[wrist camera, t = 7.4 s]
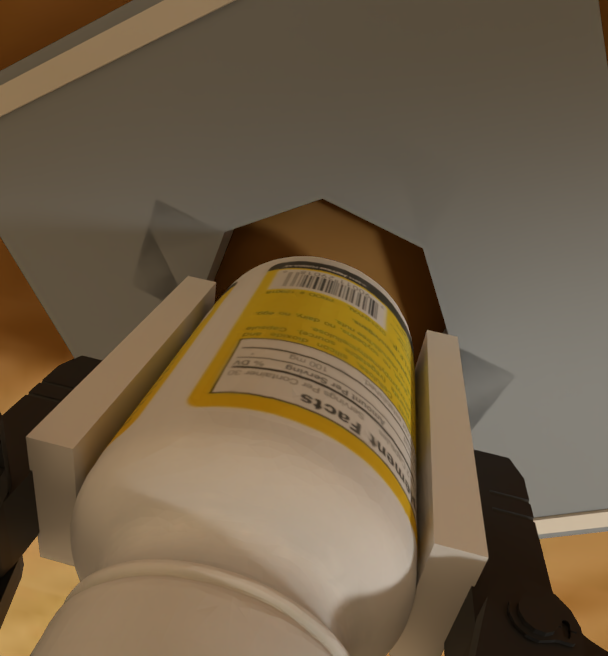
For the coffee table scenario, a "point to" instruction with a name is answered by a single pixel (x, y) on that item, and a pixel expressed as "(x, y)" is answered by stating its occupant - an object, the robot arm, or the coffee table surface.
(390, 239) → the coffee table surface
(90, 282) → the socket board
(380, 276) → the coffee table surface
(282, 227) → the coffee table surface
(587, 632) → the coffee table surface
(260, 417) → the supplement bottle
